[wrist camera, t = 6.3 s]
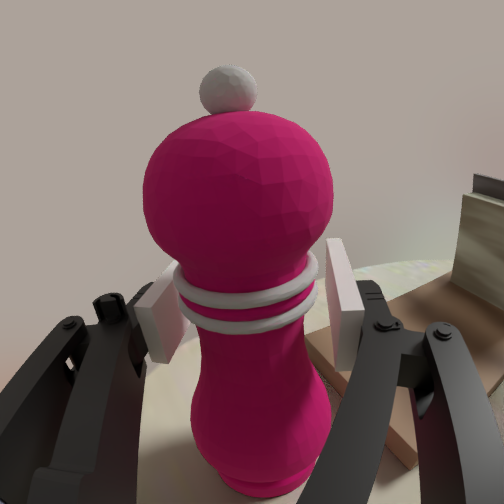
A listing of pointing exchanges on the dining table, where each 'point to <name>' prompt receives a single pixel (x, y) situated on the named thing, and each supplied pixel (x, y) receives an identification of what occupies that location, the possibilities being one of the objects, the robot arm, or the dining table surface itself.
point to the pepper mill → (246, 279)
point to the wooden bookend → (447, 309)
